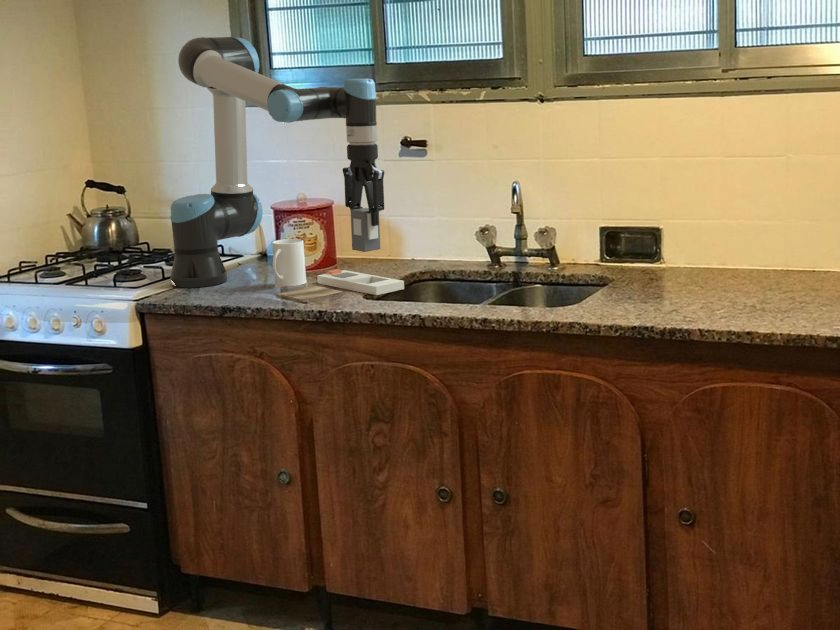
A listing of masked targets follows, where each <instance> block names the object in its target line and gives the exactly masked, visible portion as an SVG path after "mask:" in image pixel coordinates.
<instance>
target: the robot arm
mask: <svg viewBox="0 0 840 630" xmlns="http://www.w3.org/2000/svg"><path fill="white" fill-rule="evenodd" d="M177 61H178V62H177V64H178V68H179V70H180V73H181V74H182V75H183V77H184V78H185V79H187V80H188V81H189V82H191V83H193V84H195V85H198V86H199V87H202V88H206V89H207V90H208V91H209V92H210V93H211V94H212V100H213V104H212V105H213V126H214V127H213V128H214V129H213V130H214V133H213V135H214V156H215V158H214V160H215V161H214V162H215V163H214V164H215V184H214V185H213V186H212V187H211V188H210V193H199V194H197V193H196V194H194V195H193V194H191V195H186V196H183V197H180V198H177V199H175V200H174V201H172V203H171V205H170V216H169V217H170V218H169V219H170V221H171V230H172V239H173V250H174V251H173V252H174V259H173V263H172V264H173V265H172V267H171V271H170V272H171V273H170V281H171V280H172V281H173V282H174V283H175V285H176V286H177V287H176V288H185V289H186V288H189V289H190V288H204V287H210V286H211V287H212V286H217V285H219V284H220V285H221V284H223V283H226V282H227V281H228V273H227V270H226V268H225V265H224V263H223V261H222V258H221V256H220V253H219V246H218V243H219V242H218V241H221V240H225V239H233V238H235V237H238V238H239V237H243V236H247V235H249V234H252V233H253V232H255V231H256V230H257V228H259V226H260V224H261V222H262V219H263V206H262V205H263V204H262V202H260V198H259V197H258V196H257V195H256V194H254V188H253V187H252V186H251V184H249V183H248V154H247V151H248V150H247V119H246V118H247V117H246V116H247V114H246V113H247V111H246V110H247V109H246V102H247V103H248V104H251V105H253V106H255V107H257V108H260V109H262V110H264V111H267V112H268V115H270V117H271V118H272V119H273V121H275V122H277V123H288V124H289V123H294V122H301V121H312V120H325V119H326V120H327V119H345V127H346V128H345V129H346V142H347V143H349V144H347V146H346V156H347V157H346V158H347V160H349V161H350V164H349V166H348V167H343V168H342V173H343V179H344V202H345V203H344V206H345V207H346V208H349V209H350V211H351V210H354V209H361V208H364V207H363V206H361V205H362V197H363V189H364V192H365V196H366V203H367V208H369V211H367V227H368V239H376V238H378V224H379V225H380V216H379V217H378V213H379V214H380V212H381V211H384V210H385V195H384V194H385V193H384V192H385V191H384V190H385V189H384V187H385V186H384V177H385V170H384V169H381V170H380V169H378V168H377V164H376V160H377V159H378V158H379V151H378V150H379V148H378V144H377V143H376V142H377V141H378V140H379V139H378V123H377V94H376V82H375V80H374V79H372V78H347V79H345V80H344V83H343V85H344V86H343V87H342V86H341V87H340V86H335V87H334V86H331V87H330V86H316V87H312V88H311V87H310V88H294V87H292V86H290V85H287V84H285V83H283V82H280V81H278V80H275V79H273V78H271V77H268V76H266V75H263V74H261V73H259V71H260V59H259V55H258V53H257V50H256V48H255V47H254V46H253V45H252V42H250V41H248V40H247V39H245V38H244V37H243V38H242V37H236V36H235V37H234V36H222V37H216V36H215V37H205V36H204V37H202V36H201V37H196V38H192V39H190V40H188V41H187V42H185V44H184V45H183V46H182V48H181V49H180V51H179V54H178V60H177ZM378 219H379V220H378Z"/></svg>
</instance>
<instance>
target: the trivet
mask: <svg viewBox="0 0 840 630" xmlns="http://www.w3.org/2000/svg"><path fill="white" fill-rule="evenodd" d="M343 292H344V291H342V290H338V289H333V288H328V287H323V286H319V285H318V286H317V285H311V286H307V287H302V288H296V289H292V290H286V291H282V292H277V293H276V295H275V298H276V299H282V300H285V301H289V302H294V303H298V304H302V305H303V304H304V305H305V304H309V302H308V300H311V299H316V298H321V297H324V296H325V297H326V296H331V295H334V294H339V293H343Z"/></svg>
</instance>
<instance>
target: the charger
mask: <svg viewBox="0 0 840 630" xmlns="http://www.w3.org/2000/svg"><path fill="white" fill-rule="evenodd" d="M367 211H369V208H368V207H363V208H361V209H354V210H350V227H351V232H350V233H351V249H352V251H358V252H361V253H367V252H372V251H379V250H381V235H380V234H381V233H380V232H381V231H380V229H381V228H380V223H379V224H378V238H376V239H368V227H367ZM378 217H379V219H378V220H379V221H380V212H379V213H378Z"/></svg>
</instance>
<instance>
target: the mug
mask: <svg viewBox="0 0 840 630" xmlns="http://www.w3.org/2000/svg"><path fill="white" fill-rule="evenodd" d="M271 244H272V255H273V259H272V270H273V273H274V282H275V283H274V288H275V289H278V288H283V287H293V286H294V287H295V286H301V285H303V284H306V283H307V282H308V281H307V275H306V261H305V259H306V258H305V247H304V246H305V245H304V240H303V239H300V238H286V239H277V240H274V241H272V243H271Z"/></svg>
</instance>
